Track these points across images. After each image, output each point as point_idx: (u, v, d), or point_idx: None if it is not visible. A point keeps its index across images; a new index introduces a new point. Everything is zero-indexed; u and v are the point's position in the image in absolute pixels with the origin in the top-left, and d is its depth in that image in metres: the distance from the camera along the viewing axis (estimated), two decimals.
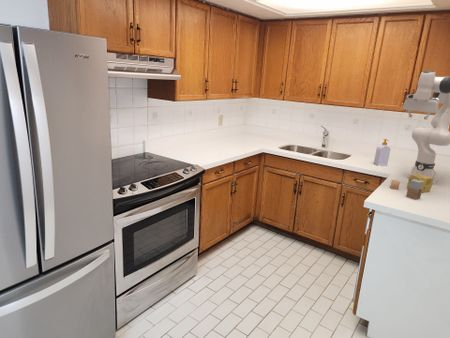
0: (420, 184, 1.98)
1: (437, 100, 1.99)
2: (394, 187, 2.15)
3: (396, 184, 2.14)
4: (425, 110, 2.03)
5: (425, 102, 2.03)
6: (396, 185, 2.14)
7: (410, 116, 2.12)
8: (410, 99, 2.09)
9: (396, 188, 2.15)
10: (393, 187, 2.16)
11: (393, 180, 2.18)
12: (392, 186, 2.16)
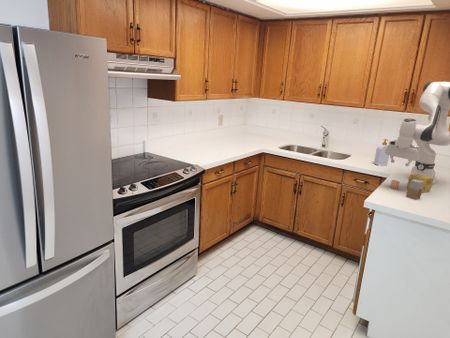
0: (420, 184, 1.98)
1: (418, 148, 2.02)
2: (394, 187, 2.15)
3: (396, 184, 2.14)
4: (406, 157, 2.07)
5: (406, 149, 2.07)
6: (396, 185, 2.14)
7: (392, 161, 2.15)
8: (392, 145, 2.12)
9: (396, 188, 2.15)
10: (393, 187, 2.16)
11: (393, 180, 2.18)
12: (392, 186, 2.16)
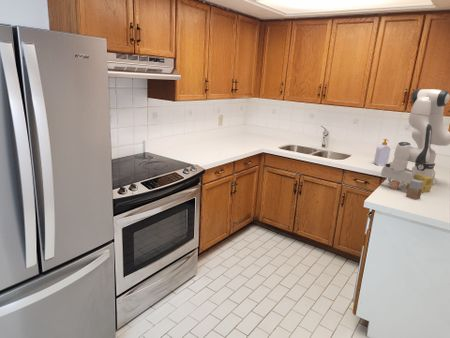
0: (420, 184, 1.98)
1: (412, 172, 2.07)
2: (394, 187, 2.15)
3: (396, 184, 2.14)
4: (401, 180, 2.11)
5: (401, 172, 2.11)
6: (396, 185, 2.14)
7: (390, 184, 2.18)
8: (387, 167, 2.17)
9: (396, 188, 2.15)
10: (393, 187, 2.15)
11: (393, 180, 2.18)
12: (392, 186, 2.16)
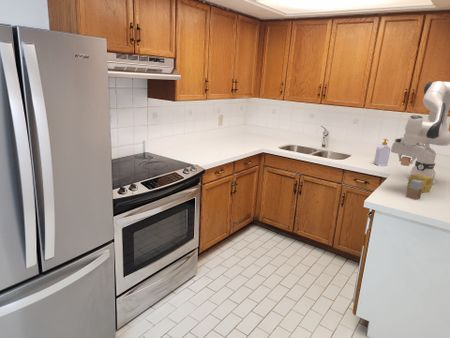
0: (420, 184, 1.98)
1: (424, 146, 1.97)
2: (405, 163, 2.06)
3: (407, 160, 2.05)
4: (413, 155, 2.02)
5: (413, 147, 2.01)
6: (407, 161, 2.05)
7: (400, 160, 2.09)
8: (398, 143, 2.07)
9: (407, 164, 2.05)
10: (404, 163, 2.06)
11: None
12: (403, 162, 2.06)
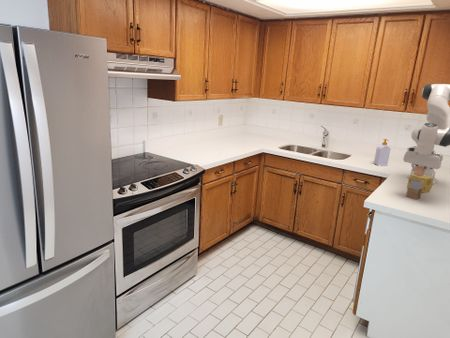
0: (420, 184, 1.98)
1: (440, 156, 1.87)
2: (419, 173, 1.95)
3: (421, 170, 1.95)
4: (427, 165, 1.92)
5: (427, 157, 1.91)
6: (421, 171, 1.95)
7: (414, 170, 1.99)
8: (411, 152, 1.97)
9: (421, 174, 1.95)
10: (417, 173, 1.96)
11: (417, 166, 1.98)
12: (416, 172, 1.96)
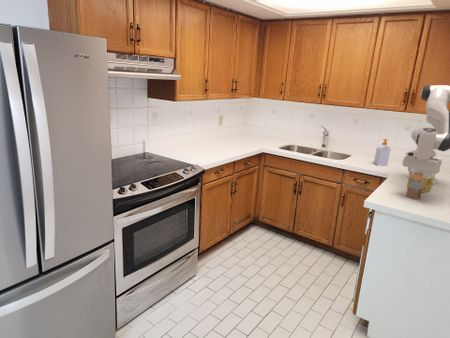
0: (420, 184, 1.98)
1: (438, 161, 1.88)
2: (417, 179, 1.97)
3: (419, 176, 1.96)
4: (426, 170, 1.93)
5: (426, 161, 1.92)
6: (419, 177, 1.96)
7: (410, 174, 2.01)
8: (410, 156, 1.98)
9: (419, 180, 1.97)
10: (416, 179, 1.97)
11: (416, 172, 2.00)
12: (415, 178, 1.97)
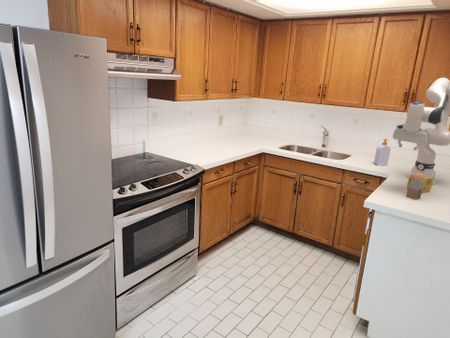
0: (420, 184, 1.98)
1: (426, 132, 1.97)
2: (417, 179, 1.97)
3: (419, 176, 1.96)
4: (415, 141, 2.02)
5: (414, 133, 2.02)
6: (419, 177, 1.96)
7: (400, 146, 2.10)
8: (400, 129, 2.07)
9: (419, 180, 1.97)
10: (416, 179, 1.97)
11: (416, 172, 2.00)
12: (415, 178, 1.98)
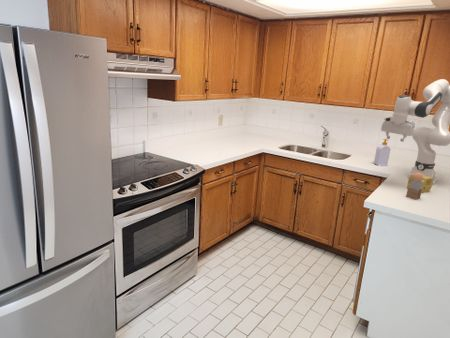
0: (420, 184, 1.98)
1: (412, 124, 2.09)
2: (417, 179, 1.97)
3: (419, 176, 1.96)
4: (401, 133, 2.13)
5: (401, 125, 2.13)
6: (419, 177, 1.96)
7: (388, 137, 2.22)
8: (387, 122, 2.19)
9: (419, 180, 1.97)
10: (416, 179, 1.97)
11: (416, 172, 2.00)
12: (415, 178, 1.98)
